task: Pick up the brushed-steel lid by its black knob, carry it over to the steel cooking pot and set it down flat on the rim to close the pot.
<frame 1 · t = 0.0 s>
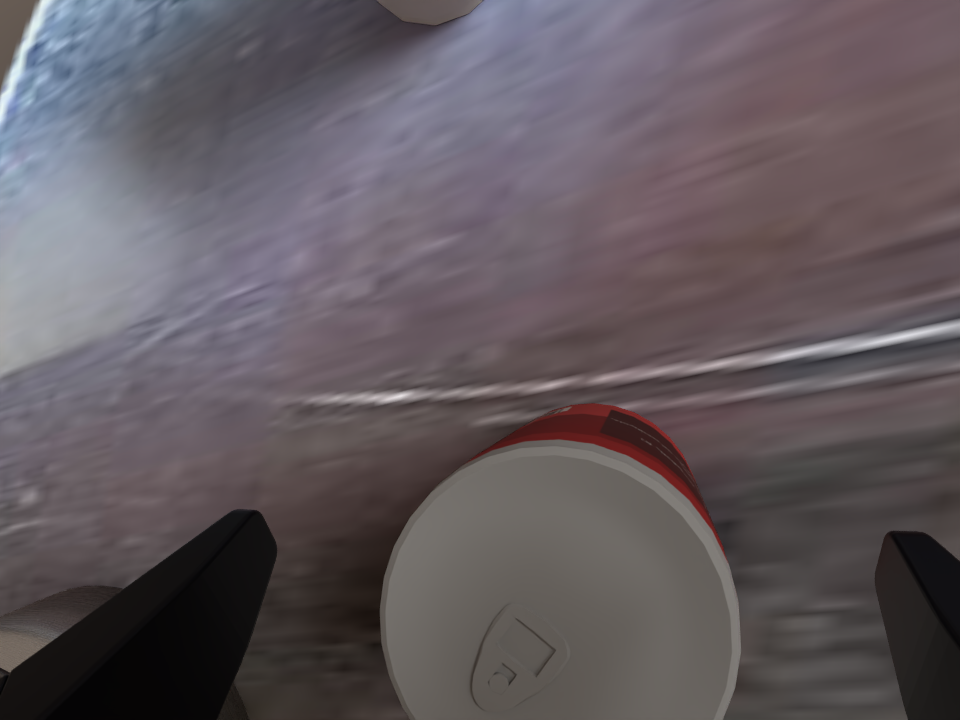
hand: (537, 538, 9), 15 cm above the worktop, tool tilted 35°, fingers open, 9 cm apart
canned food: (590, 503, 24), on the worktop
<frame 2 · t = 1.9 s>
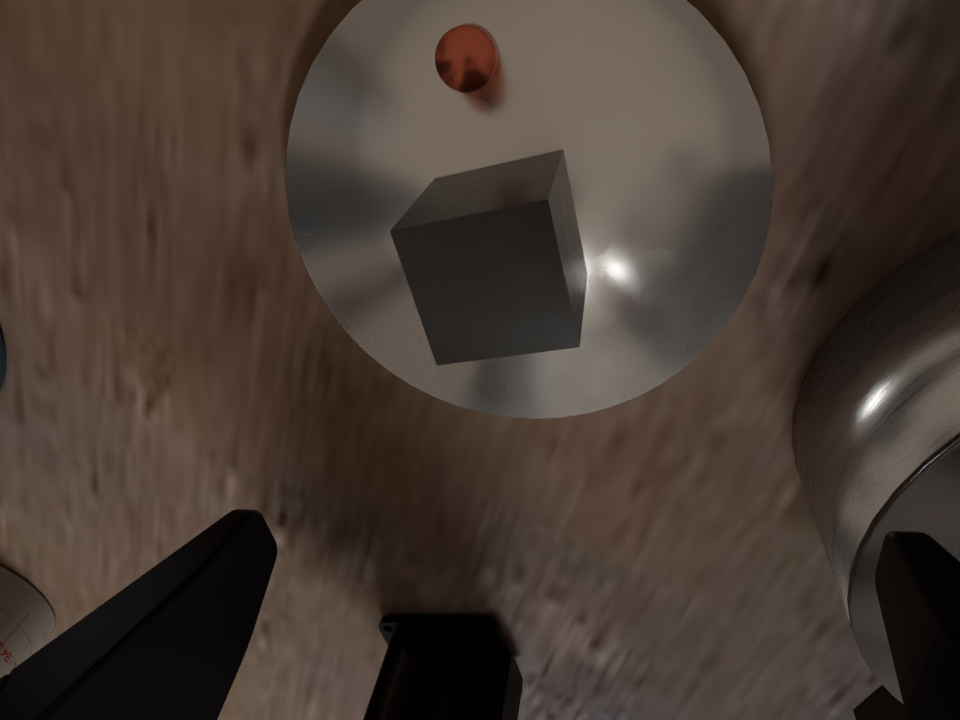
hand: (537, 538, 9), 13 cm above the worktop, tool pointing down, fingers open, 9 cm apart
lid: (517, 214, 21), on the worktop
thermos bottle: (0, 593, 41), on the worktop
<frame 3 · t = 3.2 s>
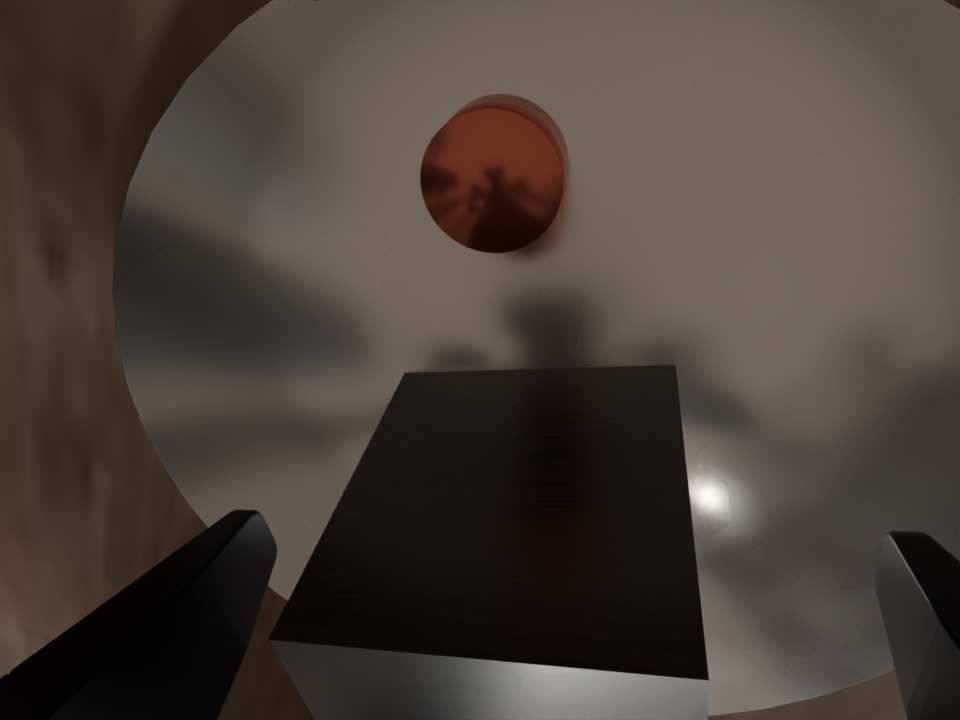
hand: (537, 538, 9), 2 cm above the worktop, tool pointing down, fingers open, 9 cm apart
lid: (554, 423, 11), on the worktop
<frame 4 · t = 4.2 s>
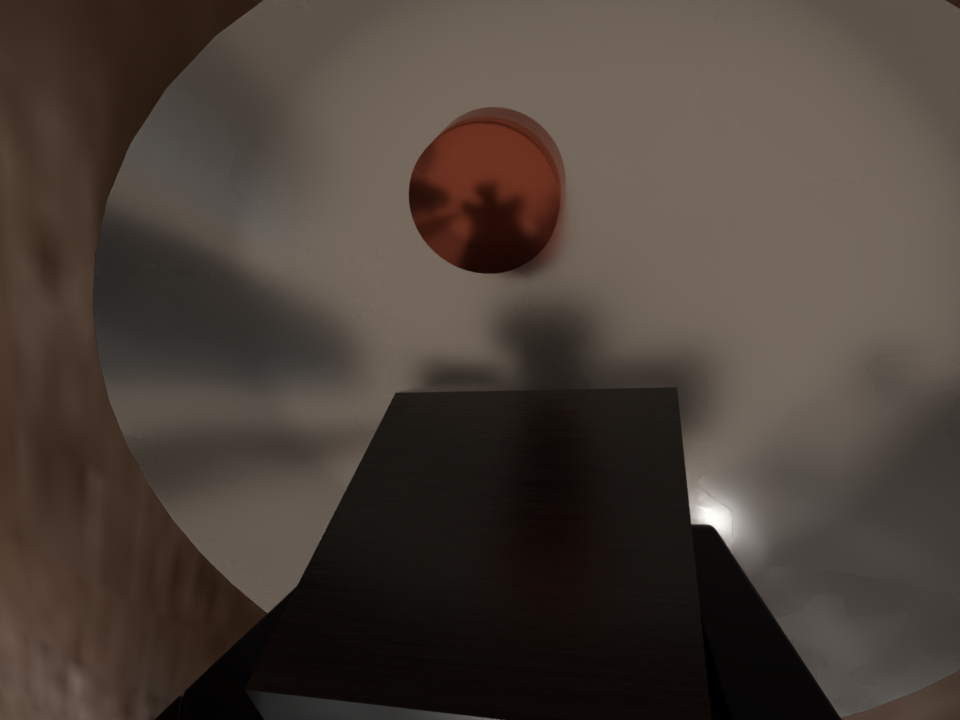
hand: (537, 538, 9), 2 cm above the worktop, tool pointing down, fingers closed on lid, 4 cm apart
lid: (551, 442, 11), on the worktop, touching gripper
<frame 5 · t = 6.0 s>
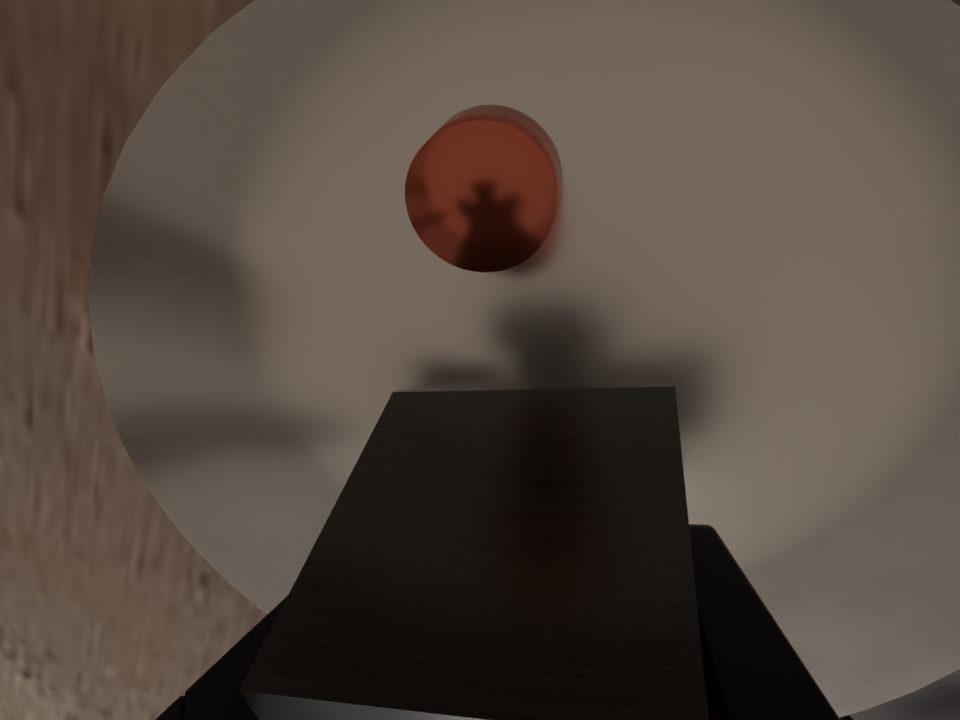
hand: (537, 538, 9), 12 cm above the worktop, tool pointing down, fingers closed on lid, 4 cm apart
lid: (549, 441, 11), point 10 cm above the worktop, touching gripper
when the fingers open (10 cm above the worktop, at t = 7.9 s): lid drops 1 cm, resting on pot.
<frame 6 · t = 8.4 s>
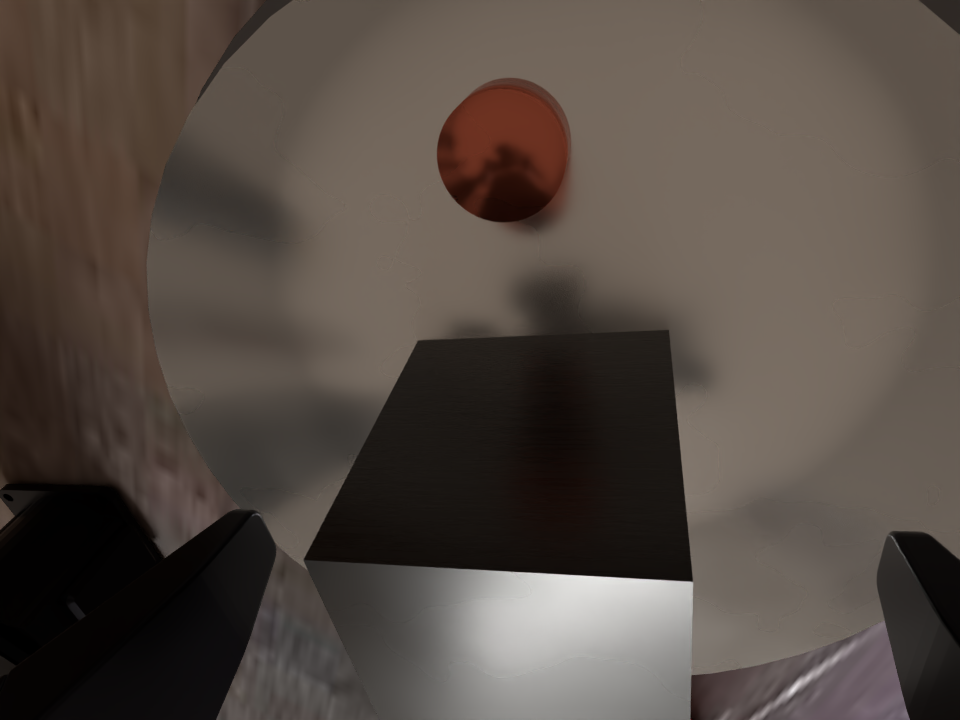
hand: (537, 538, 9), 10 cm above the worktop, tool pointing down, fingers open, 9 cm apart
lid: (557, 392, 12), point 7 cm above the worktop, touching pot
pot: (582, 245, 18), on the worktop
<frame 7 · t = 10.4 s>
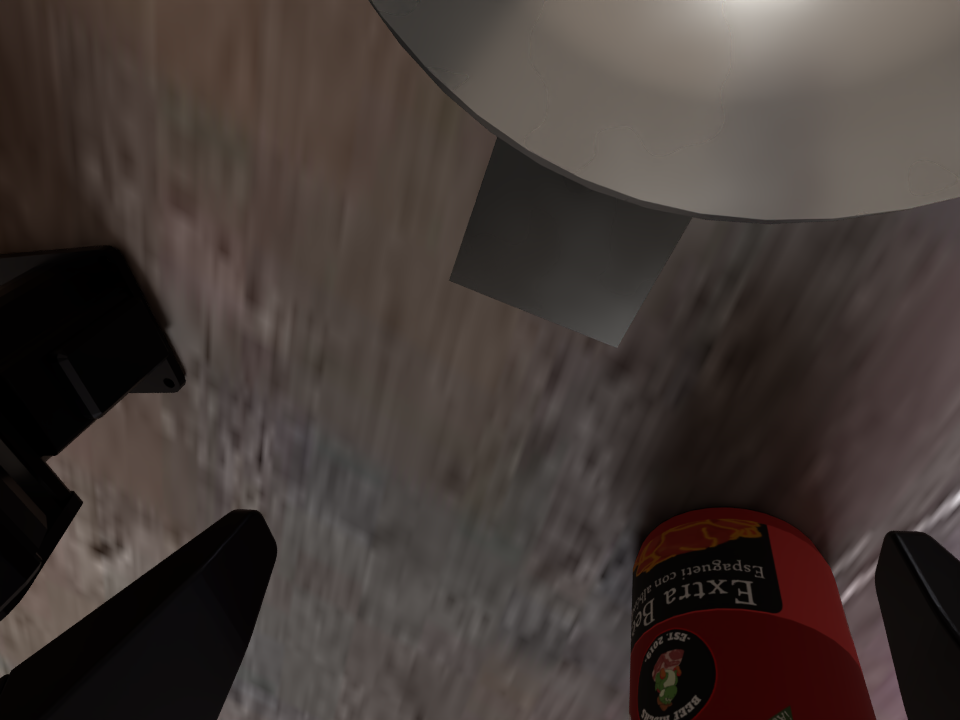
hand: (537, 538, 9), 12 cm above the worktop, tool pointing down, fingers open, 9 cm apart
canned food: (727, 564, 26), on the worktop
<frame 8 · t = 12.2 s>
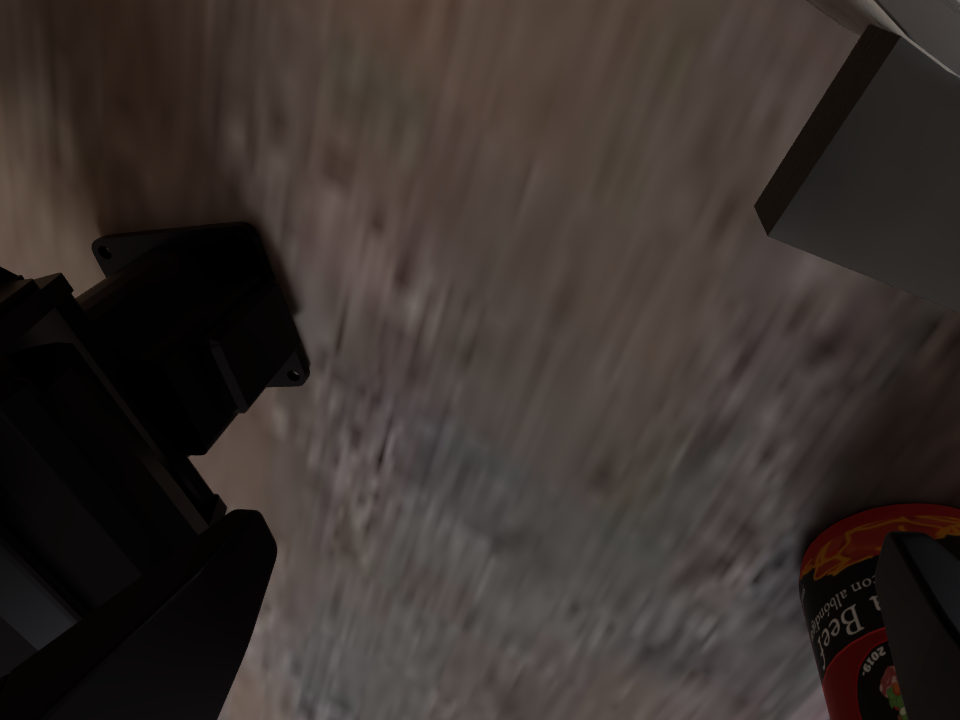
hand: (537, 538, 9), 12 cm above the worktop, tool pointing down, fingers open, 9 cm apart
canned food: (900, 565, 24), on the worktop
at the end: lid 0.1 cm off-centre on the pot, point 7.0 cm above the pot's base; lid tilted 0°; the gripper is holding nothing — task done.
